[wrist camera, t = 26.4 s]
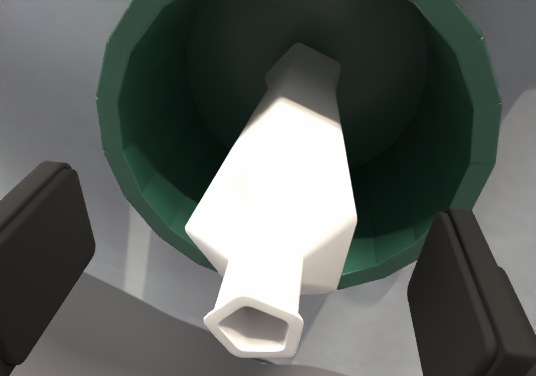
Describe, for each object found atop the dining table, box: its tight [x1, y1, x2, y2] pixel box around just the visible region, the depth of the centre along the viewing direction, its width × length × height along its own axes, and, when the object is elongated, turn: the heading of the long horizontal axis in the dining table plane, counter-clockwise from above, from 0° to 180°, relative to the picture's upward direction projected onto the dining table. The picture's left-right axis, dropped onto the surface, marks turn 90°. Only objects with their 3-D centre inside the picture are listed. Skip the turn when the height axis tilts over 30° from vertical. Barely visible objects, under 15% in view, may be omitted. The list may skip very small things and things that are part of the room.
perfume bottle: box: [185, 42, 357, 358], centre depth 15 cm, size 5×4×15 cm
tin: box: [96, 0, 502, 290], centre depth 18 cm, size 14×14×8 cm
